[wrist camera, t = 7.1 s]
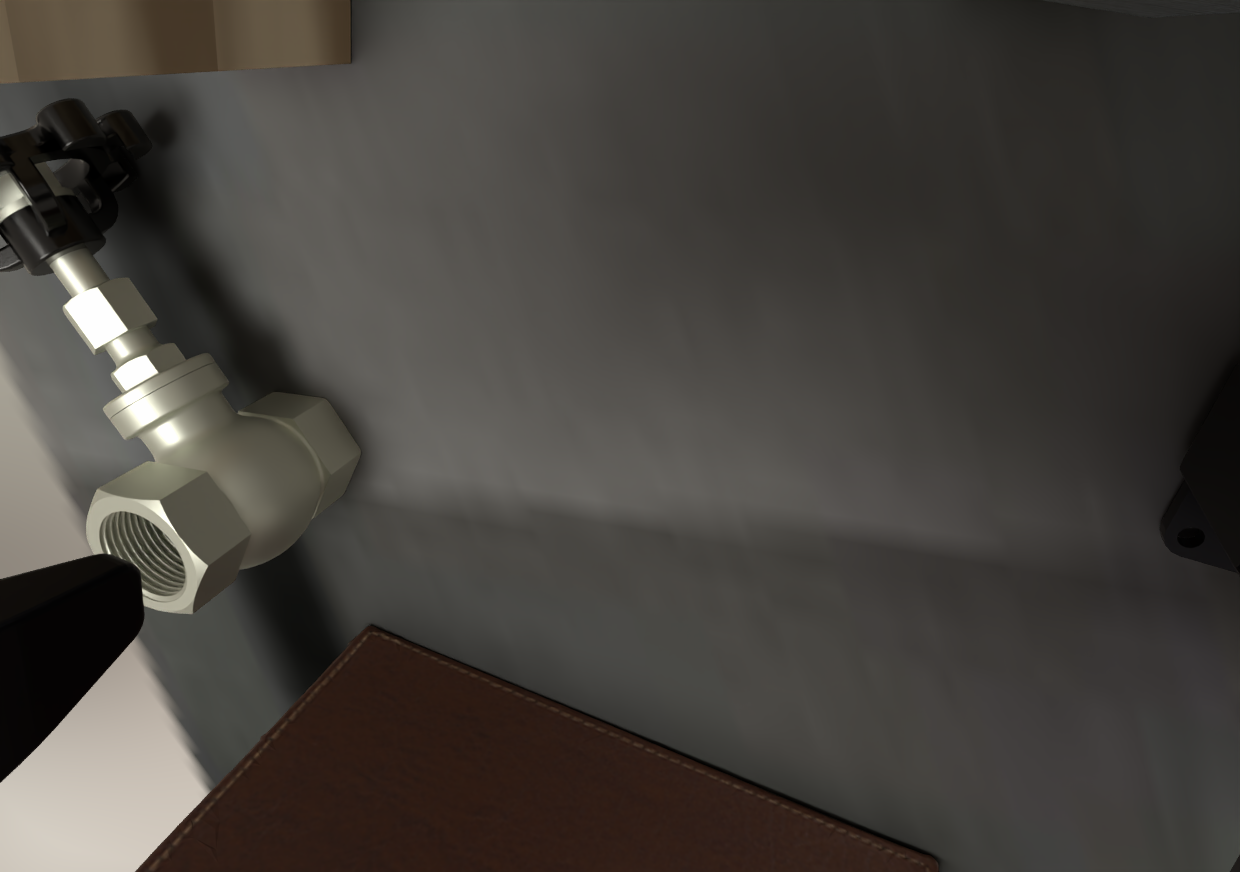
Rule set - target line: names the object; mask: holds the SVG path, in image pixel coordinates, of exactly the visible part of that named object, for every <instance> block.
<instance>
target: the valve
mask: <svg viewBox="0 0 1240 872" xmlns="http://www.w3.org/2000/svg"><path fill="white" fill-rule="evenodd" d="M36 122H37V124H35V125H34V126H32V127H31V128H29V129H26V130H24V131H21V132H17V133H14V134H10V135H6V136H2V137H0V235H1V236H2V238H3V239H4V240H5V242H6V243H7V244H8V245H6V246H5V247H3V248H1V249H0V272H10V271H15V270H18V269H21V268H23V267H24V268H25V269H26V270H27V272H28V273H29V274H31V275H33V276H41V275H47V274H51V273H55V274H56V275H57V277H58V278H59V280H60V281H61V282H62V284H63V285H64V287H65V288H66V289H67V291H68V292H69V293H70V295H71V296H72V299H70V300H69V301H68V302H66V303H65V304H64V306H63V311H64V314H65V315H66V317H67V318H68V319H69V321H70V322H71V323H72V325H73V326H74V327H75V329H76V330H77V332H78V333H79V334H80V336H81V337H82V338H83V340H84V341H85V343H86V344H87V345H88V347H89V348H90V349H91V351H92V352H93V354H94V355H97V354H99V353H102V352H104V351H107V352H108V353H109V355H110V356H111V357H112V359H113V360H114V362H115V363H116V366H117V367H116V370H114V371H113V372H112V373H111V377H112V380H113V381H114V382H115V384H116V385H117V386H118V388H119V389H120V391H121V392H122V393H123V394H121V395H119V396H118V397H116V398H115V399H113V400H112V401H110V402H109V403H108V404H107V405H105V407H104V408H103V410H104V412H105V414H106V415H107V416H108V418H109V419H110V420H111V422H112V423H113V424H114V426H115V427H116V428H117V430H118V431H119V433H120V434H121V435H122V437H123V438H124V439H125V440H130V439H133V438H135V437H139V438H141V439H142V441H143V442H144V443H145V445H146V446H147V447H148V449H149V450H150V452H151V453H152V454H153V456H154V458H155V462H149V461H147V462H145V463H143V464H141V465H140V466H138V467H136V468H134V469H132V470H130V471H129V472H127V473H125V474H123V475H121V476H120V477H118V478H116V479H114V480H112V481H110V482H109V483H107V484H105V485H103V486H101V487H99V488H98V489H97V491H96V493H95V495H94V498H93V500H92V503H91V506H90V510H89V513H88V517H87V524H86V535H87V540H88V543H89V545H90V547H91V550H92V552H93V553H94V555H96V554H102V553H107V554H112V555H115V556H117V557H119V558H121V559H124V560H126V561H128V562H130V563H133V564H134V565H136V566H137V567H138V569H139V570H140V573H141V579H142V591H143V603H144V606H147V607H149V608H152V609H156V610H159V611H165V612H171V613H182V614H193V613H195V612H196V611H197V610H198V609H200V608H201V607H202V606H203V605H205V604H206V603H207V602H209V601H210V600H211V599H212V598H214V597H215V596H216V595H217V594H219V593H220V592H221V591H222V590H224V589H225V588H226V587H227V586H229V585H230V584H231V583H233V582H234V581H235V580H236V577H237V574H238V571H239V570H240V569H246V568H250V567H254V566H256V565H259V564H262V563H265V562H267V561H269V560H271V559H273V558H275V557H276V556H278V555H280V554H281V553H283V552H284V551H285V550H287V549H288V548H289V547H290V546H291V545H293V544H294V543H295V542H296V540H297V539H298V538H299V537H300V536H301V535H302V534H303V532H304V531H305V530H306V528H307V527H308V525H309V523H310V521H311V519H314V518H315V517H316V516H317V515H319V514H320V513H321V512H322V511H324V510H325V509H326V508H327V507H329V506H330V505H331V504H332V503H334V502H335V501H336V500H338V499H339V498H340V497H341V496H343V495H344V493H345V491H346V489H347V486H348V484H349V482H350V479H351V477H352V475H353V472H354V470H355V467H356V465H357V463H358V460H359V458H360V456H361V450H360V448H359V446H358V445H357V443H356V442H355V440H354V439H353V437H352V436H351V434H350V433H349V431H348V430H347V428H346V427H345V425H344V424H343V422H342V421H341V419H340V418H339V416H338V415H337V413H336V412H335V410H334V409H333V407H332V406H331V404H330V403H329V402H328V401H327V400H326V399H324V398H319V397H312V396H304V395H297V394H290V393H282V392H272V393H271V394H269V395H267V396H265V397H263V398H261V399H260V400H258V401H256V402H254V403H252V404H251V405H249V406H247V407H245V408H243V409H241V410H240V411H238V413H236V412H235V411H234V410H233V409H232V408H231V406H230V405H229V403H228V402H227V400H226V399H225V397H224V396H223V395H222V389H224V388H225V387H226V386H227V385H228V384H229V381H228V380H227V378H226V377H225V375H224V374H223V372H222V371H221V370H220V368H219V367H218V365H217V364H216V362H215V361H214V359H213V358H212V356H211V355H210V354H209V353H203V354H200V355H197V356H194V357H192V358H190V359H187V360H186V359H185V358H184V356H183V355H182V353H181V352H180V351H179V349H178V348H177V346H176V345H175V343H168V344H164V345H163V344H160V343H159V342H158V341H157V340H156V338H155V337H154V336H153V334H152V333H151V331H150V330H149V329H151V328H153V327H154V326H155V324H156V322H157V318H156V316H155V315H154V313H153V312H152V311H151V309H150V308H149V306H148V305H147V303H146V302H145V301H144V299H143V298H142V296H141V295H140V293H139V292H138V291H137V289H136V288H135V286H134V285H133V283H132V282H131V281H130V279H129V278H116V279H113V280H110V279H109V278H108V276H107V275H106V273H105V272H104V271H103V269H102V268H101V266H100V265H99V263H98V262H97V261H96V259H95V258H94V256H93V254H95V253H96V252H98V251H99V250H100V249H101V248H102V247H103V246H104V245H105V243H106V238H105V237H104V236H103V233H105V232H106V231H107V230H108V229H109V228H111V227H112V226H113V224H114V223H115V222H116V219H117V217H118V204H117V201H116V198H115V196H114V194H113V193H115V192H118V191H120V190H122V189H124V188H126V187H128V186H129V185H131V184H132V183H133V182H134V181H135V180H136V179H137V177H138V176H137V174H136V172H135V171H134V169H133V168H132V166H131V165H130V163H129V162H128V160H127V159H126V157H125V156H124V155H123V153H122V152H121V150H120V149H119V147H121V146H125V148H126V149H127V150H128V151H129V152H130V154H131V155H132V157H133V158H134V159H136V160H137V159H139V158H141V157H142V156H144V155H145V154H147V153H148V152H149V151H150V150H151V149H152V143H151V141H150V140H149V138H148V137H147V135H146V134H145V132H144V131H143V129H142V128H141V126H140V125H139V123H138V122H137V120H136V119H135V117H134V116H133V114H132V113H131V112H130V111H128V110H116V111H112V112H109V113H106V114H104V115H102V116H100V117H99V118H97V119H96V120H95V119H94V117H93V116H92V114H91V113H90V111H89V110H88V108H87V107H86V105H85V104H84V103H83V102H82V101H81V100H79V99H74V98H69V99H63V100H59V101H56V102H53V103H51V104H49V105H47V106H45V107H44V108H43V109H41V110H40V111H39V112H38V113H37V115H36ZM58 159H69V161H68V162H66V163H65V164H64V165H63V166H62V167H61V168H59V169H58V170H56V171H55V172H53V173H52V171H51V170H50V168H49V167H48V166H47V164H46V163H45V162H46V161H51V160H58ZM79 193H82V195H83V196H84V197H85V199H86V200H87V202H88V203H89V205H90V207H91V210H92V213H89V214H88V213H87V211H86V210H85V208H84V207H83V206H82V204H81V203H80V201H79V200H78V198H77V197H76V195H78V194H79Z"/></svg>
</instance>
